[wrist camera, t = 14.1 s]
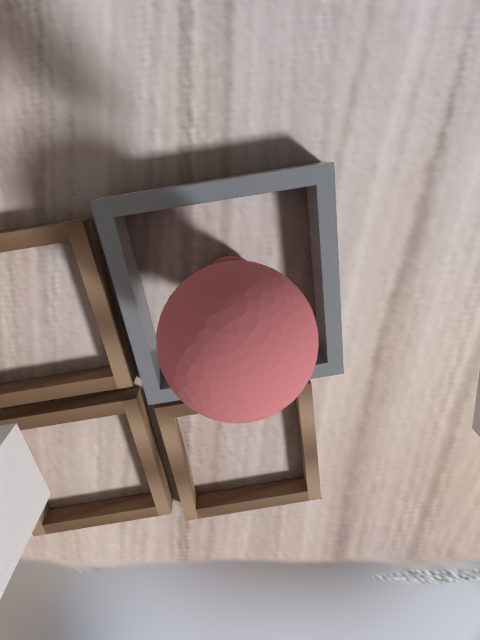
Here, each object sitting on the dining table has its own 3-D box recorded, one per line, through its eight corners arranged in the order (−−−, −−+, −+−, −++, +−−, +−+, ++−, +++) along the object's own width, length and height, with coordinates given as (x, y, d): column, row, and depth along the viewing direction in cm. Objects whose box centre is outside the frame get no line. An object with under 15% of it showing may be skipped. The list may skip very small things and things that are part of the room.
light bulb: (218, 352, 27) (221, 488, 16) (151, 272, 24) (100, 366, 13) (304, 295, 26) (373, 398, 14) (243, 205, 23) (271, 246, 12)
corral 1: (-94, 246, 23) (-114, 251, 21) (90, 216, 23) (82, 220, 21) (-18, 399, 27) (-30, 412, 26) (136, 374, 27) (132, 386, 26)
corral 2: (-12, 411, 27) (-24, 424, 26) (140, 386, 27) (136, 398, 26) (41, 519, 32) (33, 536, 30) (172, 498, 32) (171, 513, 30)
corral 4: (157, 396, 28) (154, 408, 26) (306, 372, 28) (311, 382, 26) (187, 505, 32) (185, 520, 31) (316, 483, 32) (321, 498, 31)
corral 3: (101, 196, 22) (89, 201, 20) (321, 161, 22) (334, 161, 20) (153, 384, 27) (148, 405, 25) (332, 355, 27) (343, 373, 25)
